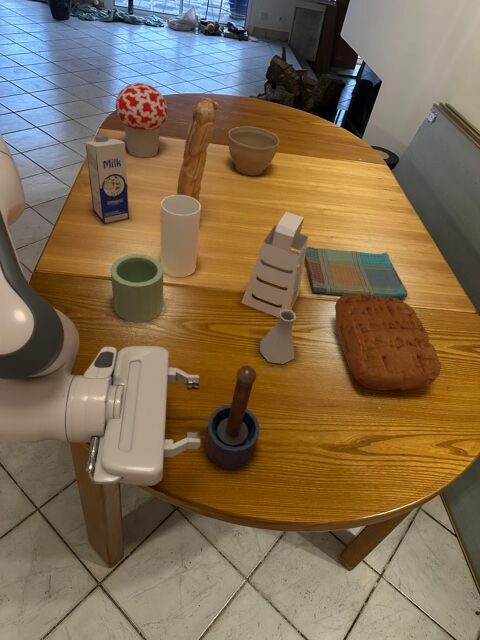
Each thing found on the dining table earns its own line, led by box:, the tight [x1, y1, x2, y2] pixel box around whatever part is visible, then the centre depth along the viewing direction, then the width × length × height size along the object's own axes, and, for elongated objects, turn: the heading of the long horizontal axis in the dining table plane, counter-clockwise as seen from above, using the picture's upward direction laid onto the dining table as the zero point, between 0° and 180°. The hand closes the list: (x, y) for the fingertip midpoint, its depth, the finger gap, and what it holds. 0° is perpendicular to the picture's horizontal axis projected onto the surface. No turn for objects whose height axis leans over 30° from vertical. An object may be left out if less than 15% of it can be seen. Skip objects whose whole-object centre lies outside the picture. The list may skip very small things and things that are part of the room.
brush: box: [216, 365, 257, 447], centre depth 60 cm, size 5×5×19 cm
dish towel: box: [304, 246, 408, 300], centre depth 104 cm, size 17×23×2 cm
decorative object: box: [115, 82, 168, 158], centre depth 131 cm, size 16×16×20 cm
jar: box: [110, 253, 165, 323], centre depth 84 cm, size 10×10×10 cm
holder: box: [204, 404, 261, 470], centre depth 65 cm, size 8×8×6 cm
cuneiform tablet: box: [334, 294, 442, 391], centre depth 84 cm, size 22×17×8 cm
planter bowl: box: [228, 126, 280, 176], centre depth 136 cm, size 16×16×11 cm
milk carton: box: [84, 134, 130, 225], centre depth 102 cm, size 7×7×20 cm
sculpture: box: [176, 97, 220, 204], centre depth 102 cm, size 7×9×30 cm
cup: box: [159, 194, 202, 278], centre depth 92 cm, size 8×8×16 cm
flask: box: [259, 309, 297, 365], centre depth 80 cm, size 7×7×10 cm
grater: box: [240, 211, 309, 319], centre depth 88 cm, size 10×10×20 cm
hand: (199, 409), depth 59 cm, fingers open, 8 cm apart
